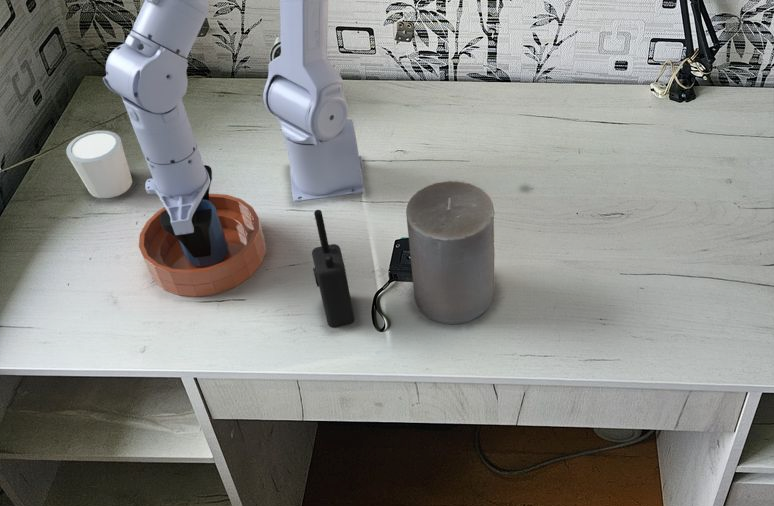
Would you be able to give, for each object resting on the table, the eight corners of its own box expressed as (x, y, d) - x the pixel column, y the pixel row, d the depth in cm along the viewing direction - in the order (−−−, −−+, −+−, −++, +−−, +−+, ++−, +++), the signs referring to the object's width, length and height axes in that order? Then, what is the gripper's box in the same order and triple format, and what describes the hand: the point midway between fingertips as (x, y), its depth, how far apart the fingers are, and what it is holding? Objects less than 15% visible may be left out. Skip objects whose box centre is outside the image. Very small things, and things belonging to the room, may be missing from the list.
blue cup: (227, 235, 110) (214, 195, 105) (228, 263, 106) (214, 223, 102) (186, 241, 109) (171, 201, 104) (185, 269, 106) (170, 230, 101)
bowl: (264, 213, 114) (257, 186, 111) (268, 289, 105) (260, 262, 102) (153, 229, 112) (142, 202, 109) (147, 307, 103) (135, 281, 100)
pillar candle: (418, 266, 107) (408, 170, 96) (497, 268, 107) (496, 171, 96) (410, 324, 101) (399, 229, 90) (493, 326, 101) (492, 231, 90)
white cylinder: (122, 207, 115) (104, 164, 110) (75, 200, 116) (55, 158, 111) (146, 174, 119) (130, 132, 114) (101, 168, 120) (82, 126, 115)
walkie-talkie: (356, 325, 101) (337, 229, 90) (327, 331, 100) (305, 236, 89) (349, 296, 104) (330, 200, 93) (321, 302, 103) (298, 206, 92)
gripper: (136, 115, 100) (170, 205, 110) (128, 195, 91) (166, 285, 101) (199, 107, 101) (227, 197, 111) (197, 185, 92) (228, 276, 102)
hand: (202, 238), depth 106 cm, fingers closed on blue cup, 5 cm apart
